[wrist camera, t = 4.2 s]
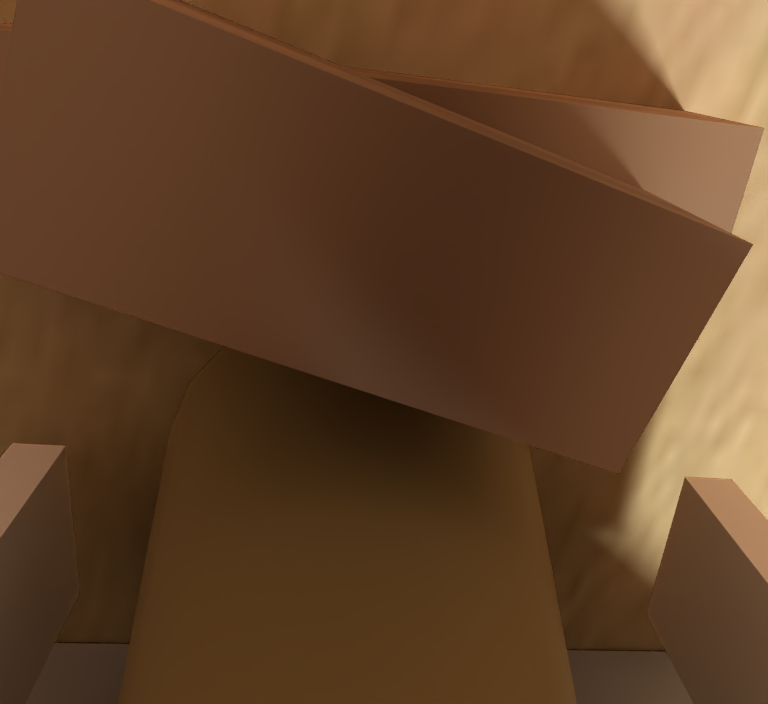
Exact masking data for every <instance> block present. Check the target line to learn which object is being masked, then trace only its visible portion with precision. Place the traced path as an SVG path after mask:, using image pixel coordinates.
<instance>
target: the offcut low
mask: <svg viewBox="0 0 768 704" xmlns="http://www.w3.org/2000/svg"><path fill="white" fill-rule="evenodd" d="M12 27H13V24H1V23H0V95H1V89H2V84H3V78H4V72H5V67H6V61H7V56H8V50H9V44H10V39H11V33H12ZM342 67H344V66H342ZM345 68H347V69H350V70H352V71H355V72H357V73H360V74H362V75H365V76H367V77H369V78H372V79H374V80H377V81H379V82H382V83H384V84H387V85H389V86H391V87H394V88H396V89H399V90H401V91H404V92H406V93H409V94H411V95H414V96H416V97H418V98H421V99H423V100H426V101H428V102H431V103H433V104H436V105H438V106H440V107H443V108H445V109H448V110H450V111H453V112H455V113H458V114H460V115H463V116H465V117H467V118H470V119H472V120H475V121H477V122H480V123H482V124H485V125H487V126H489V127H492V128H494V129H497V130H499V131H502V132H504V133H507V134H509V135H511V136H514V137H516V138H519V139H521V140H524V141H526V142H529V143H531V144H534V145H536V146H538V147H541V148H543V149H546V150H548V151H551V152H553V153H556V154H558V155H560V156H563V157H565V158H568V159H570V160H573V161H575V162H578V163H580V164H583V165H585V166H587V167H590V168H592V169H595V170H597V171H600V172H602V173H605V174H607V175H609V176H612V177H614V178H617V179H619V180H622V181H624V182H627V183H629V184H632V185H634V186H636V187H639V188H641V189H644V190H646V191H648V192H650V193H652V194H654V195H656V196H658V197H659V198H661V199H663V200H665V201H667V202H669V203H671V204H673V205H675V206H677V207H679V208H681V209H683V210H685V211H687V212H689V213H691V214H693V215H695V216H697V217H699V218H701V219H703V220H705V221H707V222H709V223H711V224H713V225H715V226H717V227H719V228H721V229H723V230H725V231H727V232H729V233H732V230H733V226H734V223H735V220H736V217H737V214H738V210H739V207H740V204H741V201H742V198H743V194H744V191H745V188H746V185H747V182H748V179H749V175H750V172H751V169H752V166H753V163H754V159H755V156H756V153H757V150H758V147H759V143H760V140H761V137H762V134H763V131H764V128H761V127H757V126H752V125H747V124H743V123H738V122H734V121H729V120H725V119H720V118H715V117H711V116H706V115H702V114H697V113H692V112H688V111H682V110H675V109H667V108H659V107H652V106H644V105H636V104H629V103H621V102H613V101H605V100H598V99H590V98H582V97H575V96H567V95H559V94H552V93H544V92H536V91H528V90H521V89H513V88H505V87H498V86H490V85H482V84H475V83H467V82H459V81H451V80H444V79H436V78H428V77H421V76H413V75H405V74H398V73H390V72H382V71H375V70H367V69H359V68H351V67H345ZM698 338H699V337H698ZM697 340H698V339H697Z"/></svg>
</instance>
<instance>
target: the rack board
mask: <svg viewBox="0 0 768 704" xmlns="http://www.w3.org/2000/svg"><path fill="white" fill-rule="evenodd" d="M128 648H129V644H93V643H55V644H54V646H53V648H52V650H51V652H50V654H49V656H48V658H47V660H46V662H45V664H44V666H43V668H42V670H41V672H40V674H39V676H38V678H37V681H36V683H35V685H34V687H33V689H32V691H31V693H30V695H29V697H28V699H27V701H26V703H25V704H118V700H119V695H120V689H121V684H122V679H123V674H124V669H125V663H126V658H127V653H128ZM567 653H568V658H569V664H570V669H571V674H572V680H573V685H574V691H575V696H576V701H577V704H693V702H692V700H691V698H690V696H689V694H688V692H687V690H686V688H685V686H684V684H683V683H682V681H681V679H680V677H679V675H678V673H677V671H676V669H675V667H674V665H673V663H672V662H671V660H670V658H669V656H668V654H667V652H658V651H587V650H567Z"/></svg>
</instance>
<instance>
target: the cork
mask: <svg viewBox="0 0 768 704" xmlns="http://www.w3.org/2000/svg"><path fill="white" fill-rule="evenodd" d="M118 704H577V701H576V696H575V691H574V685H573V680H572V674H571V669H570V664H569V658H568V653H567V647H566V642H565V637H564V631H563V626H562V620H561V615H560V610H559V604H558V599H557V593H556V588H555V583H554V577H553V572H552V566H551V561H550V556H549V550H548V545H547V540H546V534H545V529H544V523H543V518H542V513H541V507H540V502H539V496H538V491H537V486H536V480H535V475H534V469H533V464H532V459H531V453H530V448H529V445H528V444H525V443H521V442H518V441H515V440H512V439H509V438H506V437H503V436H500V435H497V434H494V433H491V432H488V431H484V430H481V429H478V428H475V427H472V426H469V425H466V424H463V423H460V422H457V421H454V420H451V419H447V418H444V417H441V416H438V415H435V414H432V413H429V412H426V411H423V410H420V409H417V408H414V407H410V406H407V405H404V404H401V403H398V402H395V401H392V400H389V399H386V398H383V397H380V396H377V395H373V394H370V393H367V392H364V391H361V390H358V389H355V388H352V387H349V386H346V385H343V384H340V383H337V382H333V381H330V380H327V379H324V378H321V377H318V376H315V375H312V374H309V373H306V372H303V371H300V370H296V369H293V368H290V367H287V366H284V365H281V364H278V363H275V362H272V361H269V360H266V359H263V358H259V357H256V356H253V355H250V354H247V353H244V352H241V351H238V350H235V349H232V348H229V347H226V346H224V347H223V348H222V349H221V350H220V351H219V352H218V353H217V354H216V355H215V356H214V358H213V359H212V360H211V361H210V362H209V363H208V364H207V365H206V366H205V367H204V368H203V369H202V370H201V371H200V372H199V373H198V374H197V375H196V376H195V377H194V379H193V380H192V381H191V382H190V385H189V387H188V389H187V392H186V394H185V396H184V399H183V401H182V403H181V406H180V408H179V410H178V413H177V415H176V417H175V419H174V422H173V424H172V426H171V429H170V433H169V439H168V444H167V449H166V454H165V459H164V465H163V470H162V475H161V480H160V486H159V491H158V496H157V501H156V506H155V512H154V517H153V522H152V527H151V533H150V538H149V543H148V548H147V554H146V559H145V564H144V569H143V574H142V580H141V585H140V590H139V595H138V601H137V606H136V611H135V616H134V621H133V627H132V632H131V637H130V642H129V648H128V653H127V658H126V663H125V669H124V674H123V679H122V684H121V689H120V695H119V700H118Z"/></svg>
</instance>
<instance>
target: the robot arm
mask: <svg viewBox="0 0 768 704" xmlns="http://www.w3.org/2000/svg"><path fill="white" fill-rule="evenodd" d="M79 593H80V592H79V581H78V571H77V560H76V550H75V539H74V529H73V518H72V508H71V497H70V487H69V476H68V466H67V455H66V446H61V445H41V444H21V443H12V444H11V445H10V446H9V448H8V449H7V450H6V451H5V452H4V454H3V455H2V456H1V457H0V704H25V703H26V701H27V699H28V697H29V695H30V693H31V691H32V689H33V687H34V685H35V683H36V681H37V678H38V676H39V674H40V672H41V670H42V668H43V666H44V664H45V662H46V660H47V658H48V656H49V654H50V652H51V650H52V648H53V646H54V644H55V642H56V640H57V638H58V636H59V634H60V632H61V630H62V628H63V626H64V624H65V622H66V620H67V618H68V616H69V614H70V612H71V609H72V607H73V605H74V603H75V601H76V599H77V597H78V595H79ZM646 614H647V616H648V617H649V619H650V621H651V623H652V625H653V627H654V629H655V631H656V633H657V635H658V637H659V639H660V640H661V642H662V644H663V646H664V648H665V650H666V652H667V654H668V656H669V658H670V660H671V662H672V663H673V665H674V667H675V669H676V671H677V673H678V675H679V677H680V679H681V681H682V683H683V684H684V686H685V688H686V690H687V692H688V694H689V696H690V698H691V700H692V702H693V704H768V520H767V519H766V518H765V517H764V515H763V514H762V513H761V512H760V511H759V510H758V509H757V507H756V506H755V505H754V504H753V503H752V502H751V501H750V500H749V498H748V497H747V496H746V495H745V494H744V493H743V492H742V490H741V489H740V488H739V487H738V486H737V485H736V484H735V482H734V481H733V480H732V479H719V478H699V477H685V479H684V482H683V486H682V489H681V493H680V496H679V500H678V503H677V507H676V510H675V514H674V517H673V521H672V525H671V528H670V532H669V535H668V539H667V542H666V546H665V549H664V553H663V556H662V560H661V563H660V567H659V570H658V574H657V577H656V581H655V584H654V588H653V592H652V595H651V599H650V602H649V606H648V609H647V613H646Z"/></svg>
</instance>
